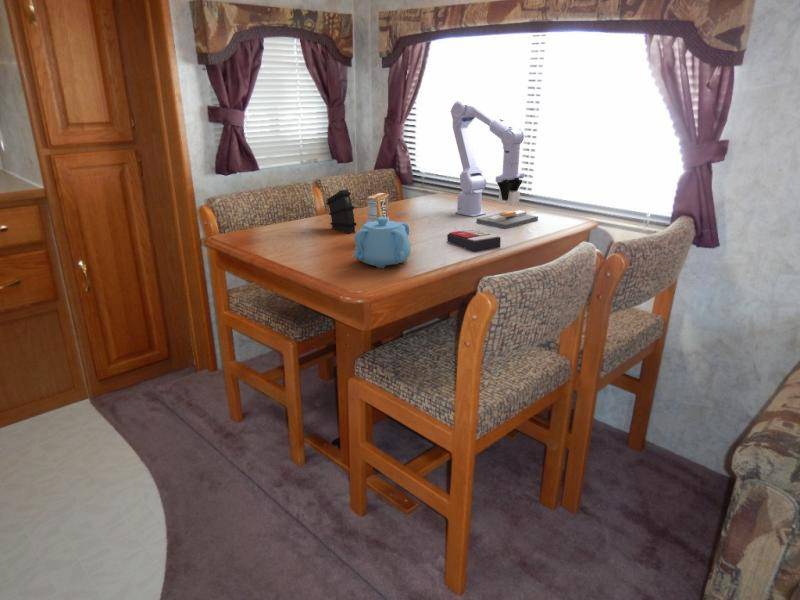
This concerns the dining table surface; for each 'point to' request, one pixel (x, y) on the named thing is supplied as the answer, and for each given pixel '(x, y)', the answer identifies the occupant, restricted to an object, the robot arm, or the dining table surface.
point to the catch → (508, 213)
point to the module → (510, 198)
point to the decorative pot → (382, 242)
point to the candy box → (378, 206)
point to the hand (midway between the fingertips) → (508, 199)
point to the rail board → (507, 220)
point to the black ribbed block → (342, 212)
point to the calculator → (474, 240)
